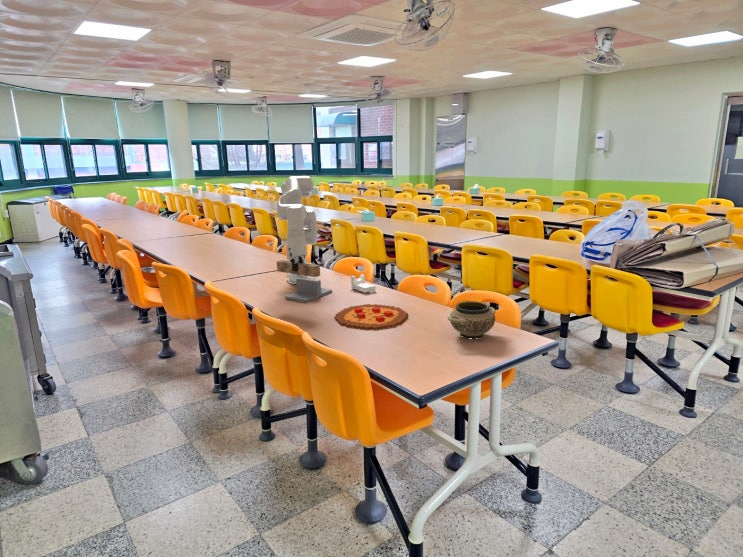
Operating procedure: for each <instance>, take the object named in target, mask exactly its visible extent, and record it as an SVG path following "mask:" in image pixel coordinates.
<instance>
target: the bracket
mask: <svg viewBox="0 0 743 557" xmlns="http://www.w3.org/2000/svg"><path fill="white" fill-rule="evenodd" d="M350 279H351V280H350V281H351V282H350V285H351V288H352V289H354V290H356V291H359V292H361V293H369V292H370V294H371V292H372V293H376V285H374V284H371V283H367V282H365V275H364V274H362V273H361V274H360V275H359V278H358V279H356V276H354V275H351V276H350Z"/></svg>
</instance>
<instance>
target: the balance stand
mask: <svg viewBox="0 0 743 557" xmlns="http://www.w3.org/2000/svg"><path fill="white" fill-rule="evenodd" d="M296 282H297V284H296V291H295V292H293V293H290V294H288V295H285V296H284V297H285V298H284V299H285V300H288V299H290V301H294V300H295V301H294V302H299V301H300V303H305V302H307V303H309V302H311V300H312V301H314V300H316V298H317V299H320V298H321V296H322V297H324V296H326V294H327V295H329V294H332V293H333V289H330V288H323V287H322V284H321V282H322V281H321V278H316V277H310V276H307V277H302V276H299V277H296ZM331 292H332V293H331Z"/></svg>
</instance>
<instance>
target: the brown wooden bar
mask: <svg viewBox="0 0 743 557" xmlns="http://www.w3.org/2000/svg"><path fill="white" fill-rule="evenodd" d="M297 263H298V271H297V272H296V271H292V263H291V261H290V260H285V259H284V260H283V259H281V260H278V261H276V272H280V273H285V274H288V273H291V274H298V275H304V276H307V277H310V278H317V277H320V276H321V265H319V264H313V263H307V262H306V263H299V262H297Z"/></svg>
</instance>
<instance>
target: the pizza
mask: <svg viewBox="0 0 743 557" xmlns="http://www.w3.org/2000/svg"><path fill="white" fill-rule="evenodd" d="M407 318H408V319H409V313H408V312H406V311H405V310H404V309H402V308H400V307H399V306H398V307H395V305H391V306H390V305H387V304H386V305H385V304H384V305H382V304H377V303H375V304H370V303H368V304H360V305H353V306H352V305H351V306H349V307H346V308H345V307H344V309H341V310H340V311H339V312H337V313H335V316H334V320H335V321H337V323H339V325H341V326H342V327H343V326H345V327H346V328H352V329H357V328H358V329H360V330H365V331H367V329H368V330H373V331H376V330H375V329H377V330H381V329H382V328H384V329H388V328H387V327H390V328H394V327H393V326H399V325H398V324H401V325H402V324H404V322H406V320H408V319H407ZM403 321H404V322H403Z"/></svg>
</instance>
